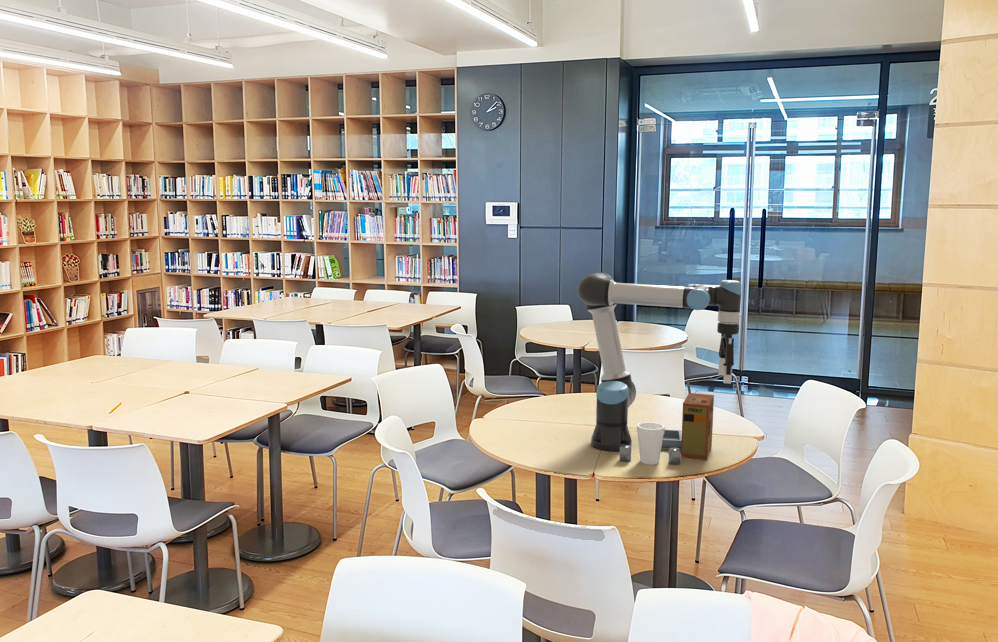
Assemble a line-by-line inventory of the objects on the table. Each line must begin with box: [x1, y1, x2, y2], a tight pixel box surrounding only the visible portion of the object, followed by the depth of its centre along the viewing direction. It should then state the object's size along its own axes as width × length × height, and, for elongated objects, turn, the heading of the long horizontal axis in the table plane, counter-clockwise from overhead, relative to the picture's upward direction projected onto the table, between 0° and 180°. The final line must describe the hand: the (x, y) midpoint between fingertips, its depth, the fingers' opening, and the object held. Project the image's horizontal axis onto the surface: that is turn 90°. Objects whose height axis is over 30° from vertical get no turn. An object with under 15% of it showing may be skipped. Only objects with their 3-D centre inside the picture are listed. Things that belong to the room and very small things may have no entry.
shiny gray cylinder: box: [668, 448, 681, 466], centre depth 262 cm, size 4×4×5 cm
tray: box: [661, 429, 682, 450], centre depth 285 cm, size 14×14×4 cm
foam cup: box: [636, 421, 666, 465], centre depth 263 cm, size 10×9×13 cm
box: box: [680, 392, 715, 461], centre depth 274 cm, size 17×9×20 cm, turn 159°
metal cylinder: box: [619, 445, 632, 463], centre depth 266 cm, size 4×4×5 cm
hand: (724, 379), depth 279 cm, fingers open, 13 cm apart
